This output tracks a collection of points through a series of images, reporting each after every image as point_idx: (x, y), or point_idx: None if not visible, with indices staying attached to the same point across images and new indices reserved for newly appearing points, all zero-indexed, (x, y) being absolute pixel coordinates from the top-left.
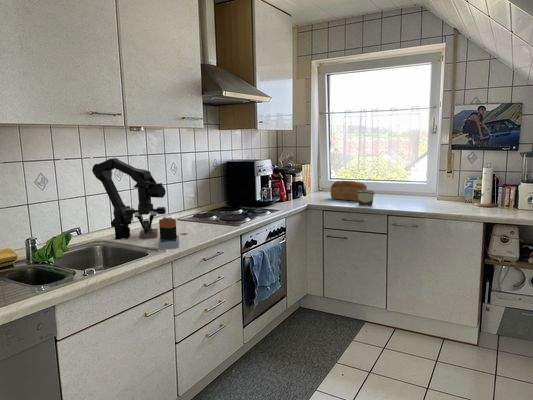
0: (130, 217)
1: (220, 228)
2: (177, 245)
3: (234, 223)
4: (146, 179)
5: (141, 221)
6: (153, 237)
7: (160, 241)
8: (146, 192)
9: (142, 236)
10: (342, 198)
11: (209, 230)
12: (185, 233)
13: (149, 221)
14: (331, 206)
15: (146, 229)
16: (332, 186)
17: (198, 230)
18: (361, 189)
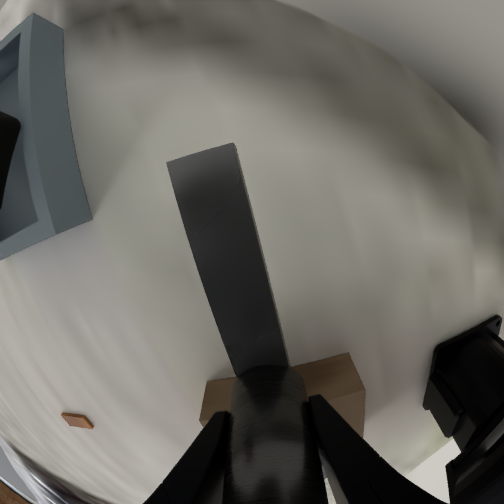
0: (480, 495)
1: (25, 443)
2: None
3: (39, 471)
4: None
5: (364, 487)
6: (231, 381)
7: (22, 67)
8: None
9: (329, 371)
10: (20, 497)
11: (34, 435)
12: (73, 422)
13: (192, 500)
14: (3, 478)
15: (260, 384)
16: None
17: (70, 452)
18: None
